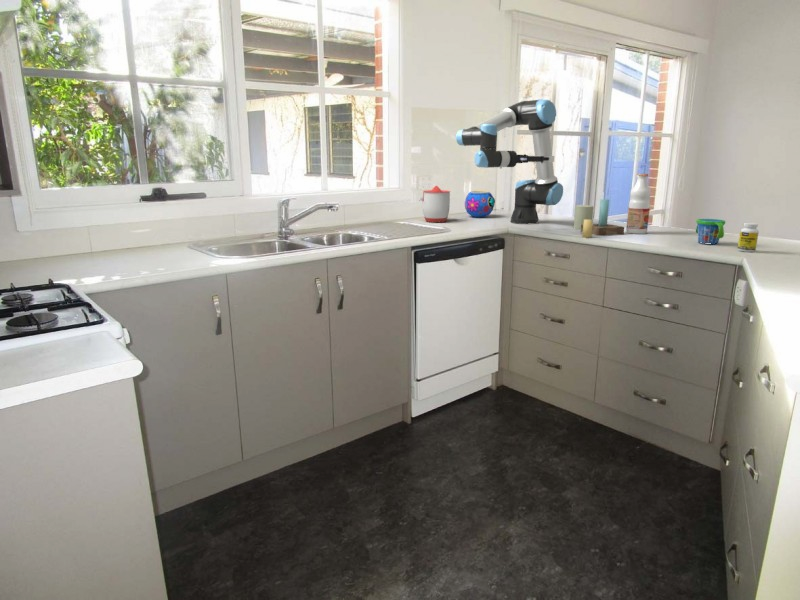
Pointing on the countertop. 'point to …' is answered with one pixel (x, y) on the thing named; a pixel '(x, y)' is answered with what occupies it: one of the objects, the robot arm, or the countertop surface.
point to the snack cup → (710, 230)
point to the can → (582, 214)
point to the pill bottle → (748, 237)
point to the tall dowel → (603, 212)
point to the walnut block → (606, 229)
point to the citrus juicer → (436, 204)
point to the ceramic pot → (479, 203)
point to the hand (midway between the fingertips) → (546, 158)
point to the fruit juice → (639, 206)
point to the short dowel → (587, 228)
